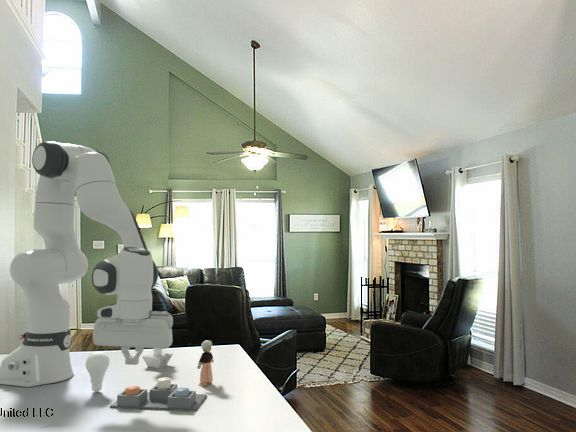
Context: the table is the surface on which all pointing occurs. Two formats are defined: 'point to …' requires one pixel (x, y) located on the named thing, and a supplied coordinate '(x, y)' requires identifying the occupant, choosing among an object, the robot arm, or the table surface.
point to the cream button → (164, 383)
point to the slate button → (182, 392)
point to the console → (159, 400)
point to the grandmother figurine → (206, 364)
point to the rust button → (132, 390)
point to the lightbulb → (97, 369)
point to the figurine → (157, 358)
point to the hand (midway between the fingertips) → (131, 364)
